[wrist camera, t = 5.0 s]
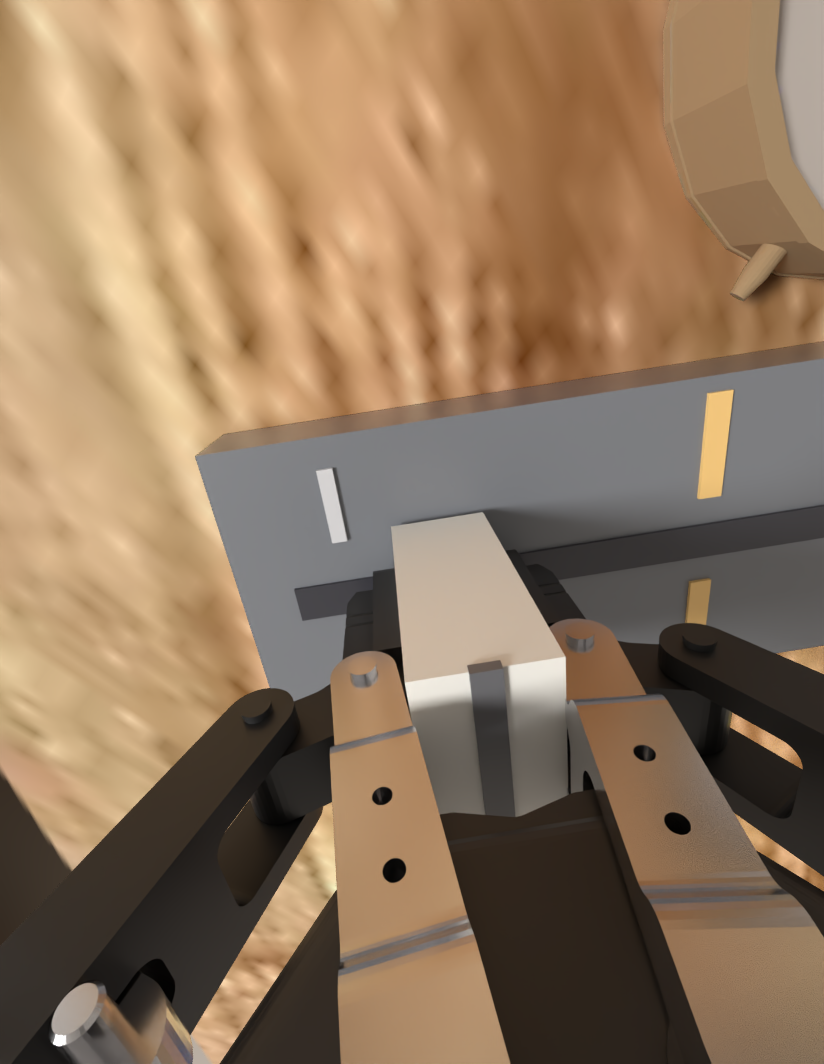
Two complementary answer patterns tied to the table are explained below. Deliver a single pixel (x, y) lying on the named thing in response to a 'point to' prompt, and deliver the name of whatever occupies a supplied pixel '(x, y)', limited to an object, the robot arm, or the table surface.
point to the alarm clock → (750, 128)
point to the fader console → (547, 502)
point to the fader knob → (479, 671)
